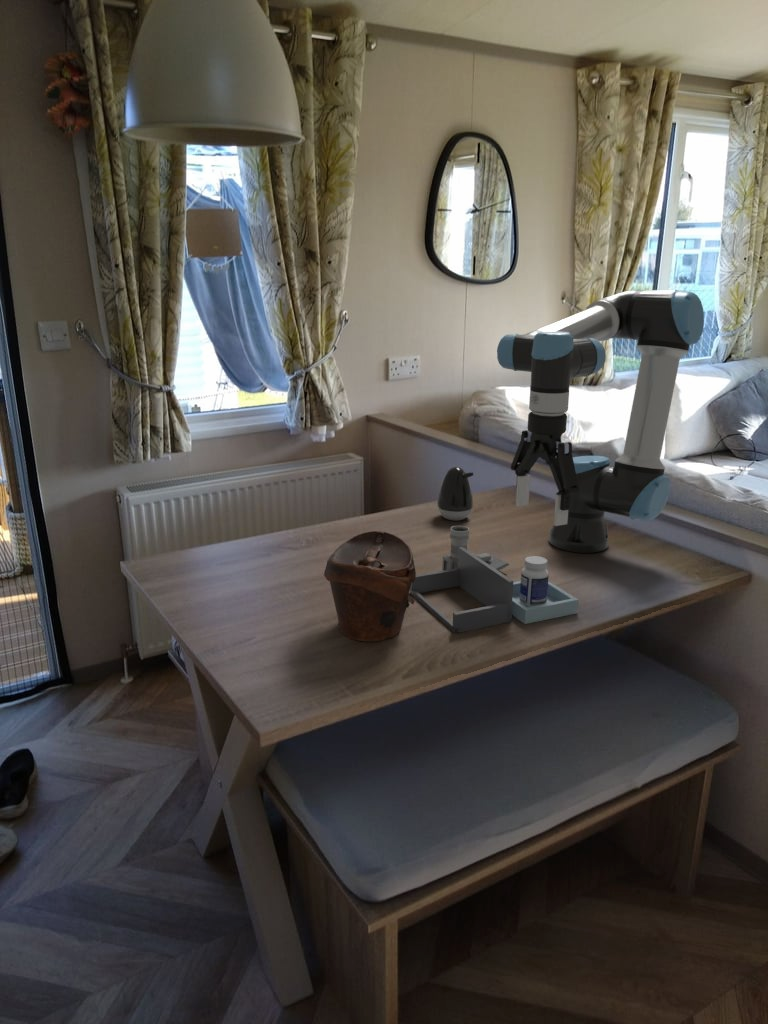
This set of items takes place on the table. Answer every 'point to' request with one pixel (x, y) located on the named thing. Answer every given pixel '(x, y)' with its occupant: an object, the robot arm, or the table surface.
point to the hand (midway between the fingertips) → (540, 514)
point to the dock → (470, 592)
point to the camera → (459, 539)
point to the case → (371, 585)
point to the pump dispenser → (455, 495)
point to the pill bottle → (534, 581)
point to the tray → (544, 605)
